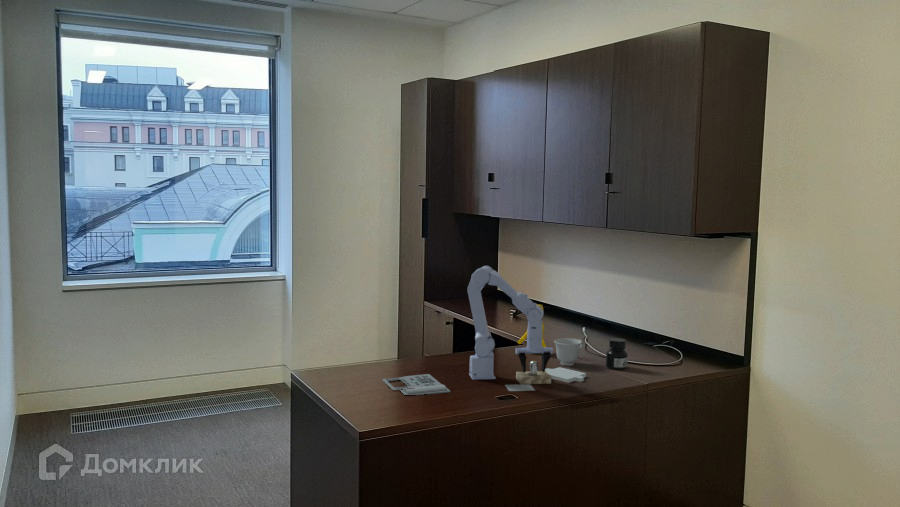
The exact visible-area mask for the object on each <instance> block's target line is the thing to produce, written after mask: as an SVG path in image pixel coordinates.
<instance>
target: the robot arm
mask: <svg viewBox="0 0 900 507" xmlns="http://www.w3.org/2000/svg"><path fill="white" fill-rule="evenodd" d="M486 285H489V286H496V288H497V287H498V289H499V290H501V291H502V292H503V293H504V294H505V295H507V296H508V297H510V298H511V302H512V303H511V304H513V305H514V306H515V307H516V308H517V309H518V310H519V311H520V312H521V313H523V315H525V316H526V319H527V330H526V331H527V338H526V342H527V343H526V346H525V347H515V354H516V355H517V356H518V358H519V362H520V363H521V365H520V366H521V368H522V372H526V371H527V370H526V369H527V368H526V367H527V366H526V364H527V355H526V354H530V355H531V354H541V371H542V372H545V369H546V368H547V365H548V362H549V360H550V358H552V354H554V348H553V347H547V346H546V347H547V348H546V347H542V322H543V319H542V318H543V317H544V314H545V313H544V308H543V309H542V308H541V307H540V306H538V304H537V303H536V302H534V301H532V300H531V299H530V298H529V297H528V296H529V295H528V294H527V293H523V292H518V291H517V290H516V289H515V288H513V286H512V285H511V284H510V283H509V282H508V281H507V280H506V279H505V278H503V277H502V276H501V275H500V273H499V272H497V271H496V270H495V269H493V268H492V267H491V266H490V265H483V266H482V267H479V268H477V269H476V270H475V271H474V272H473V273H472V274H471V278H470V281H469V283H468V285H467V289H466V291H467V295H468V301H469V305H470V309H471V311H470V312H471V315H472V320H473V324H474V330H475V336H474V340H475V345H474V351H475V354H473V355H470V356H469V371H468V372H469V373H468V375H469V376H470V378H471V379H472V380H497V377H496V376H495V375H494V362H495V360H494V356H495V354H494V352H493V350H494V349H495V346H496V343H495V339H494V338H493V337H492V335H491V334H492V333H491V331H490V330H489V328H488V327H489V326H488V322H487V317H486V316H487V315H486V312H485V308H484V301H483V297H482V290H483V288H484V287H485V286H486Z"/></svg>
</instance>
